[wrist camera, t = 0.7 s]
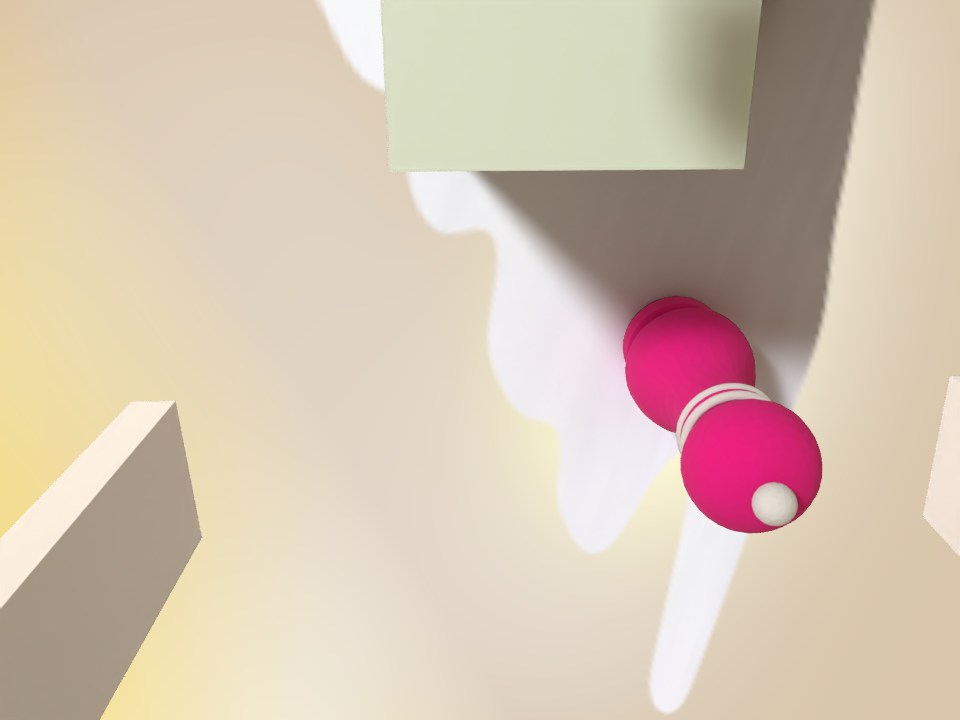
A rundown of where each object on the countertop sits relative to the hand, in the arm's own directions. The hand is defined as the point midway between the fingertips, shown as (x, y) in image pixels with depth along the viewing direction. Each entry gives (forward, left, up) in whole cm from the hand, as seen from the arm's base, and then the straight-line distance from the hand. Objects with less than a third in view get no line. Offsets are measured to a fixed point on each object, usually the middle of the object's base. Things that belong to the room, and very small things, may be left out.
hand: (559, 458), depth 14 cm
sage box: (-6, +1, -36) cm, 36 cm away
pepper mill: (+11, +10, -36) cm, 39 cm away
